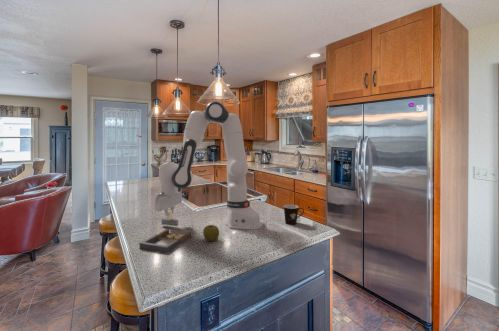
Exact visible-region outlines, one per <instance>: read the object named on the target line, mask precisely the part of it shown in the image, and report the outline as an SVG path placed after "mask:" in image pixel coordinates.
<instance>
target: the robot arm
mask: <svg viewBox="0 0 499 331" xmlns="http://www.w3.org/2000/svg"><path fill="white" fill-rule="evenodd" d="M209 124H220V126H221V129H222V130H221V131H222V137H223V146H224V150H225V151H224V152H225V156H226V183H227V184H226V185H227V200H226V208H227V212H226V213H227V214H226V219H225V223H224V224H225V225H226V226H227V227H228V228H229V229H240V230H241V229H242V230H258V229H260V228H262V227H263V226H264V223H265V222H264V221H263V220H262V219H261V217H260V213H259V212H257V211H256V210H255V209H254V208H253V207H252V206H250V204H251V203H252V202H251V200H250V201H249V200H248V198H247V197H248V195H247V193H248V190H247V188H248V187H247V186H248V185H247V180H246V178H247V177H246V175H247V173H248V171H249V165H248V159H247V158H248V157H247V154H246V149H245V144H244V143H245V142H244V136H243V128H242V127H243V126H242V124H241V119H240V117H239V115H238V114H236V113H229V111H228V110H227V109H226V107H225V106H224V104H222V103H221V102H219V101H214V100H213V101H210V102H209V103H208V104H206V106H205V109H204V110H203V111H202V110H194V111H191V113H190V114H189V116H188V118H187V121H186V123H185V127H184V131H183V143H182V151H181V156H180V159H179V164H177V163H175V162H174V161H165V162H164V163H161V164H160V165H159V167H158V168H159V169H158V181H159V193H157V194H156V196H155V199H154V206H153V208H154V211H155V212H162V211H163V212H164V215H165V217H167V216H169V215H170V213H169V212H168V209H172V215H173V214H174V210H175V206H177V205H179V204H182V201H183V193H182V191H183V189H186V188H187V187H189V186H190V185H191V183H192V179H193V176H194V175H193V171H192V170H191V168H192V164H193V160H194V158H195V157H194V156H195V154H196V152H197V150H198V149H199V148H200V146H201V144H202V143H203V140H204V138H205V133H206V130H207V127H208V125H209Z"/></svg>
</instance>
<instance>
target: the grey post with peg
mask: <svg viewBox="0 0 499 331" xmlns="http://www.w3.org/2000/svg"><path fill="white" fill-rule="evenodd" d="M168 212H169V213H170V215H169V216H166V218H161V225H164V226H174V227H178V226H179V219H175V218H173V214H172V209H171V208H168Z"/></svg>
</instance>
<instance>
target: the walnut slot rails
mask: <svg viewBox="0 0 499 331" xmlns="http://www.w3.org/2000/svg"><path fill="white" fill-rule="evenodd" d="M169 233H170V229H169V228H166V229H165V230H163V231H160V232H158V233H156V234H155V236H157V241H160V240H161V239H163V238H164V237H166V235H167V234H169ZM182 235H183V236H182V237H180V238H178V239H180V245H182V244H183V243H185V242H186V241H188V240H189V238H190V239H191V238H192V232H190V231H189V232H187V233H185V234H182Z"/></svg>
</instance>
